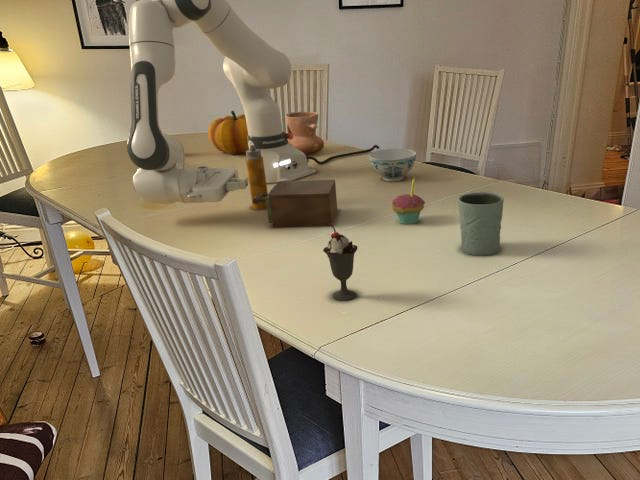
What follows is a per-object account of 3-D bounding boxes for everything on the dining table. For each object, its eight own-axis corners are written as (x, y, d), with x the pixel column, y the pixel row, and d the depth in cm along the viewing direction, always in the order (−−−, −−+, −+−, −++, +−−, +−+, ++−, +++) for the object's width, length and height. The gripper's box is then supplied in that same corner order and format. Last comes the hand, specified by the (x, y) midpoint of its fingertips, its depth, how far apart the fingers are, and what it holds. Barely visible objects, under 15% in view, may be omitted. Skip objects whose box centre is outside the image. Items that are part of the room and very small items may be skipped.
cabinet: (272, 227, 171) (268, 195, 166) (282, 211, 182) (278, 181, 178) (331, 226, 170) (328, 193, 165) (337, 210, 181) (335, 179, 177)
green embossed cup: (490, 259, 144) (492, 206, 138) (449, 252, 149) (450, 201, 143) (508, 245, 152) (511, 194, 146) (469, 239, 157) (470, 189, 151)
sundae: (327, 290, 134) (320, 219, 126) (359, 288, 134) (355, 217, 127) (327, 304, 128) (320, 231, 121) (361, 301, 128) (356, 228, 121)
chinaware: (362, 183, 205) (361, 158, 201) (380, 171, 217) (379, 147, 213) (407, 186, 200) (406, 160, 196) (423, 173, 211) (422, 149, 208)
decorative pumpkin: (202, 156, 248) (194, 115, 241) (232, 144, 266) (226, 105, 258) (247, 158, 242) (241, 116, 234) (276, 145, 259) (271, 106, 252)
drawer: (252, 224, 171) (248, 198, 168) (262, 209, 182) (259, 185, 178) (322, 222, 170) (320, 196, 166) (328, 207, 181) (326, 183, 177)
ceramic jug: (334, 153, 244) (330, 113, 236) (301, 160, 236) (297, 119, 229) (307, 146, 256) (303, 108, 249) (276, 153, 248) (271, 113, 241)
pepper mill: (263, 203, 190) (255, 142, 182) (272, 206, 187) (264, 144, 178) (249, 207, 188) (240, 145, 179) (258, 210, 184) (249, 147, 176)
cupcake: (428, 217, 172) (427, 172, 166) (419, 228, 165) (418, 180, 159) (397, 215, 175) (396, 170, 169) (387, 225, 168) (385, 179, 162)
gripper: (180, 184, 163) (234, 182, 162) (204, 164, 180) (253, 162, 179) (185, 209, 166) (238, 207, 165) (208, 187, 183) (256, 185, 182)
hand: (246, 184), depth 172 cm, fingers closed
